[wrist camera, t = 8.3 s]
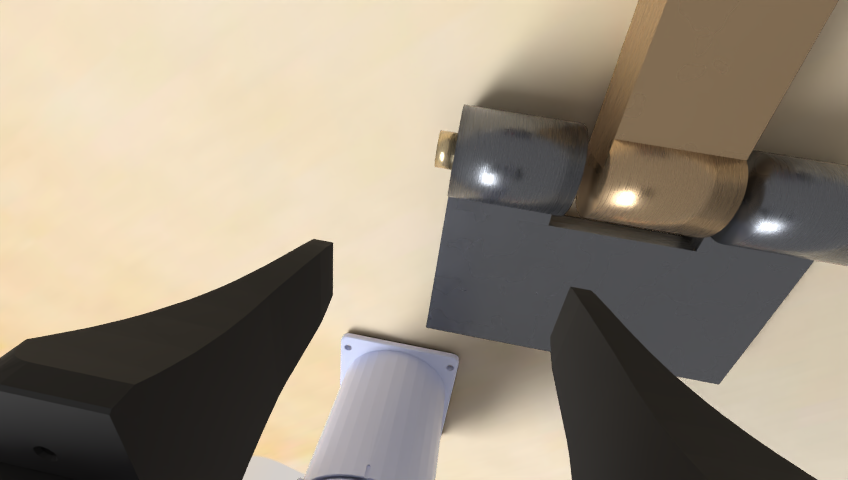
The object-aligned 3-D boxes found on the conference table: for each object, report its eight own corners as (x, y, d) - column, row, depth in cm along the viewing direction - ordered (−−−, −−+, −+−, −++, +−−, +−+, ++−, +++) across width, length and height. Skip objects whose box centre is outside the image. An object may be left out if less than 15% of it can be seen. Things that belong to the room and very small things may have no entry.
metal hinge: (719, 366, 23) (759, 427, 20) (417, 308, 25) (405, 356, 21) (873, 160, 17) (972, 198, 13) (448, 94, 18) (439, 112, 15)
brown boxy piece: (671, 213, 19) (710, 255, 16) (570, 195, 20) (587, 233, 16) (802, -46, 14) (904, -67, 11) (660, -65, 14) (715, -91, 11)
